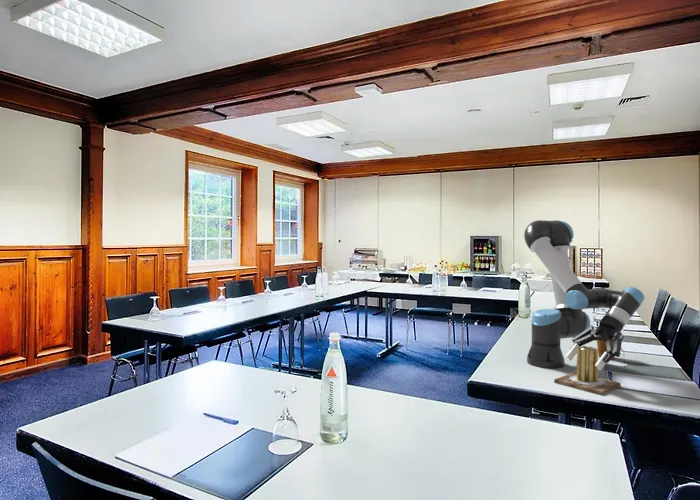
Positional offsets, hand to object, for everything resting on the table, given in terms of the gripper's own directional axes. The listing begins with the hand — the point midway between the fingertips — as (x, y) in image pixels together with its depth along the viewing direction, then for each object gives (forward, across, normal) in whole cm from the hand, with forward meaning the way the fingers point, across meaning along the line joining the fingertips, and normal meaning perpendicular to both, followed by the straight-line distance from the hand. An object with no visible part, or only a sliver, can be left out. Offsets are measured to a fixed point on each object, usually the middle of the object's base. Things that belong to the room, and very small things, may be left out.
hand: (582, 363), depth 166 cm
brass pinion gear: (+3, 0, -6) cm, 7 cm away
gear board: (+4, 0, -8) cm, 9 cm away
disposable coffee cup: (-23, +27, -35) cm, 50 cm away
